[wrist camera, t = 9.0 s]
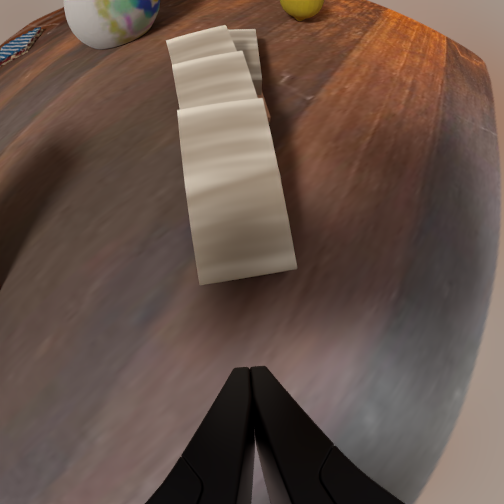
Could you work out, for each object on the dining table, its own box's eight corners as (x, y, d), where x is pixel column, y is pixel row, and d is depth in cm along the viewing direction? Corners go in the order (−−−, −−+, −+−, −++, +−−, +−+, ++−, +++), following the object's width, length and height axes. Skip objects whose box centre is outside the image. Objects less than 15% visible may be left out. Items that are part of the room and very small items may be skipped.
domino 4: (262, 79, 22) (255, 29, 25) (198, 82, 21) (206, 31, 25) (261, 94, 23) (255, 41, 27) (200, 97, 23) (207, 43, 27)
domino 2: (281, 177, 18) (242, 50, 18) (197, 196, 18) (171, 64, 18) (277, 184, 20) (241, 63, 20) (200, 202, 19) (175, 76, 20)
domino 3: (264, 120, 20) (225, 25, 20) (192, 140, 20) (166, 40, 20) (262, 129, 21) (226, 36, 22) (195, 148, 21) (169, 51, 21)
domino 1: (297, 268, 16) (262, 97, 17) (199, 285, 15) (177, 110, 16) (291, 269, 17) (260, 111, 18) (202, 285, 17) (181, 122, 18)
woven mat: (-14, 78, 32) (-19, 71, 30) (6, 51, 36) (2, 44, 34) (27, 55, 33) (24, 46, 31) (45, 31, 37) (42, 23, 35)
